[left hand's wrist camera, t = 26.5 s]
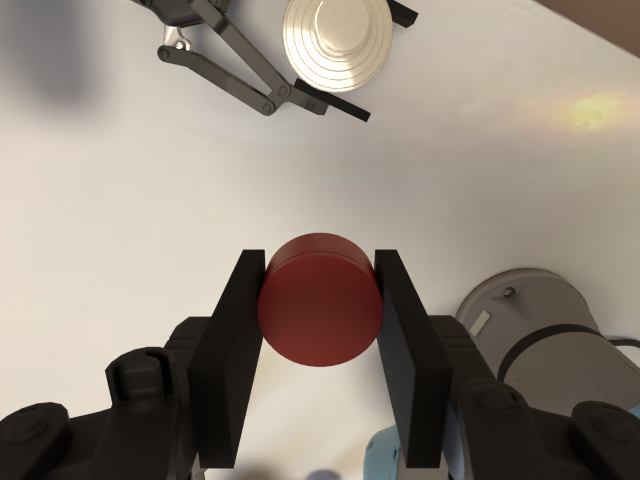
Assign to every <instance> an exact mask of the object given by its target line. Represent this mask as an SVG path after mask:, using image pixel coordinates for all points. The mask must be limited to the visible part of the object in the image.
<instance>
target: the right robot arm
mask: <svg viewBox="0 0 640 480" xmlns="http://www.w3.org/2000/svg"><path fill="white" fill-rule="evenodd" d="M131 1H133V2H135V3H137V4H139V5H142V6H144V7H146V8H148V9H150V10H151V11H153V12H154V13H155V14H156V15H157V16H158V18H159V19H160V20H161V21H162V22H163V23H164V24H165V25H164V41H163V45H162V46H160V47H159V48H158V51H157V53H158V57H159V59H161V60H162V61H164V62H167V63H172V64H176V65H181V66H185V67H188V68H189V69H191V70H192V71H194V72H196V73H197V74H199V75H200V76H202V77H204V78H205V79H207V80H208V81H210V82H212V83H213V84H215V85H216V86H218V87H220V88H221V89H223V90H224V91H226V92H228V93H229V94H231V95H232V96H234V97H236V98H237V99H239V100H241V101H242V102H244V103H245V104H247V105H249V106H250V107H252V108H253V109H255V110H257V111H258V112H260V113H261V114H263V115H265V116H270V115H272V114H273V113H274V112H275V111H276V110H277V109H278V108H279V107H280V106H281V105H282V104H283V103H284V102H291V103H294V104H296V105H298V106H300V107H302V108H304V109H306V110H308V111H311V112H313V113H315V114H317V115H324V114H325V112H326V110H327V107H328V105H331V106H334V107H336V108H338V109H340V110H342V111H344V112H346V113H348V114H350V115H352V116H354V117H357V118H359V119H361V120H363V121H365V122H367V121H368V118H369V116H370V114H371V113H369V112H367V111H365V110H363V109H361V108H359V107H357V106H355V105H353V104H351V103H349V102H347V101H345V100H343V99H340V98H338V97H336V96H334V95H332V94H330V93H328V92H325V91H322V90H319V89H316V88H314V87H312V86H311V85H309V84H307V83H306V82H305V81H303V80H301V79H299V78H297V80H296V82H295V85H294V86H293V85H291V84H289V83H288V82H287V81H286V80H285V78H284V77H283V76H282V75H281V74H280V73H279V72H278V71H277V70H276V69H275V68H274V67H273V66H272V65H271V64H270V63H269V62H268V61H267V59H266V58H265V57H264V56H263V55H262V54H261V53H260V52H259V51H258V50H257V49H256V48H255V47H254V46H253V45H252V44H251V43H250V41H249V40H248V39H247V38H246V37H245V36H244V35H243V34H242V33H241V32H240V31H239V30H238V29H237V28H236V27H235V25H234V24H233V23H232V22H231V21H230V20H229V19H228V18H227V17H226V16H225V15H224V13H226V12H227V9H228V5H229V0H131ZM386 1H387V4H388V6H389V9H390V12H391V17H392V21H394V22H395V23H397V24H399V25H401V26H403V27H405V28H407V27H409V26H411V25H413V24H414V22H415V20H416V18H417V16H418V13H417V12H415V11H413V10H411V9H409V8H407V7H405V6H404V5H402V4H400V3H398V2H396V1H394V0H386ZM201 23H207V24H208V25H209V26H210V27H211V28H212V29H213V30H214V31H215V32H216V33H217V34H218V35H220V36H221V38H222V39H223V40H224V41H225V42H226V43H227V44H228V45H229V46H230V47H231V48H232V49H233V50H234V51H235V52H236V53H237V54H238V55H239V56H240V57H241V58H242V59H243V60H244V61H245V62H246V63H247V64H248V65H249V66H250V68H251V69H252V70H253V71H254V72H255V73H256V74H257V75H258V76H259V77H260V78H261V79H262V80H263V81H264V82H265V83H266V84H267V85H268V86H269V87H270V88H271V89H272V90H273V91H272V92H271V93H270V94H269V95H268V96H266V95H265V94H263V93H261V92H260V91H258V90H257V89H255V88H254V87H252V86H250V85H249V84H247V83H246V82H244V81H242V80H241V79H239V78H238V77H236V76H235V75H233V74H231V73H230V72H228V71H227V70H225V69H224V68H222V67H220V66H219V65H217V64H216V63H214V62H213V61H211V60H209V59H208V58H206V57H204V56H203V55H201V54H198V53H196V52H193V45H192V43H191V42H190V41H189V40H188V39H186V38H184V37H183V35H182V33H181V28H184V27H189V26H193V25H197V24H201Z"/></svg>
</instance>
